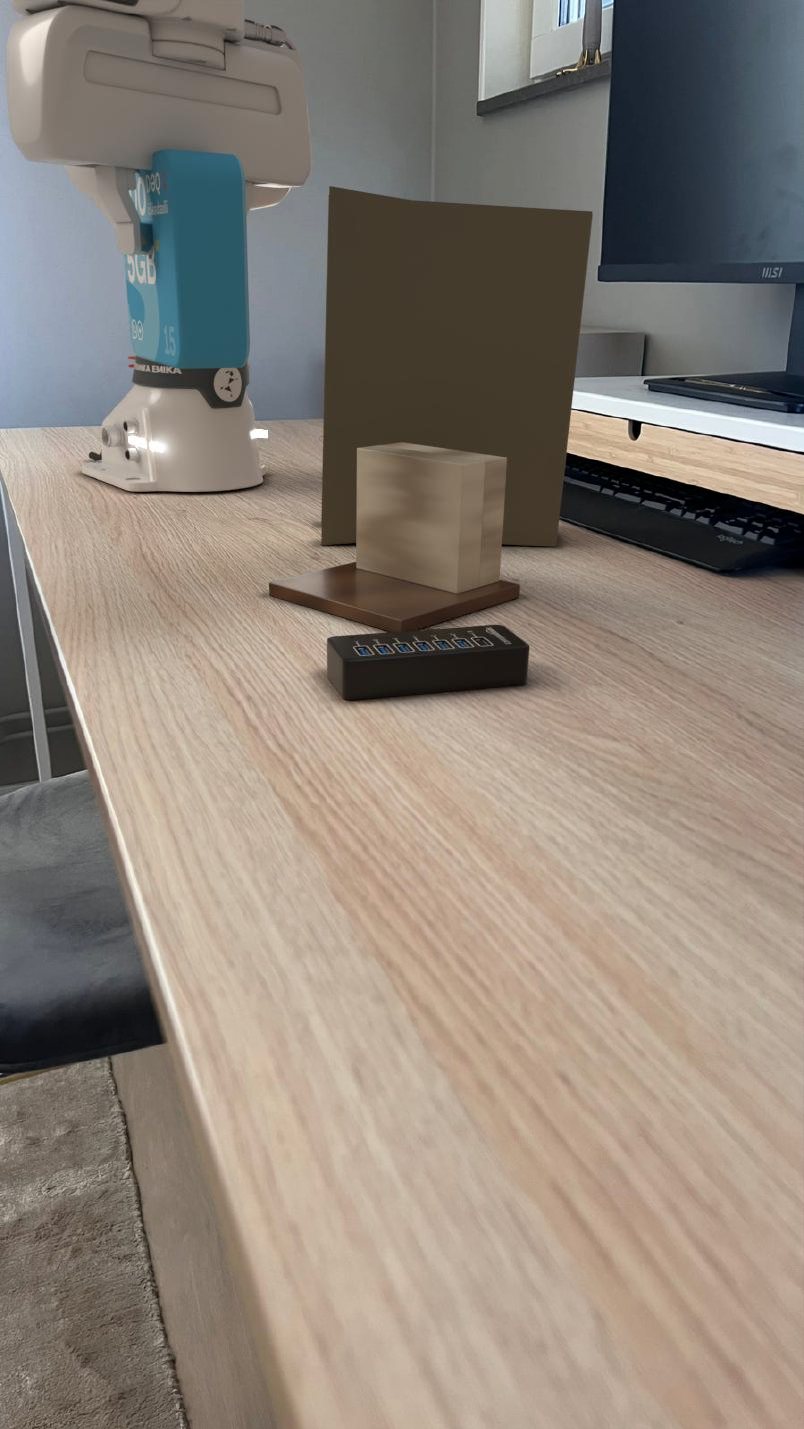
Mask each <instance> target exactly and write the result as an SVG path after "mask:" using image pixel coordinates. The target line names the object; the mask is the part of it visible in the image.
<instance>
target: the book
mask: <svg viewBox="0 0 804 1429" xmlns="http://www.w3.org/2000/svg"><path fill="white" fill-rule="evenodd" d="M327 201H328V204H327V205H328V206H327V244H326V245H327V248H326V249H327V250H326V252H327V253H326V289H325V290H326V293H325V294H326V295H325V336H324V337H325V338H324V341H325V342H324V377H323V378H324V381H323V384H324V385H323V424H322V425H323V427H322V465H321V466H322V471H321V511H320V512H321V516H320V517H321V518H320V527H321V532H320V535H321V536H320V538H321V539H320V540H321V541H320V545H321V546H328V545H329V546H330V545H343V544H344V545H345V544H356V528H357V448H361V447H369V446H377V445H385V444H393V443H401V442H404V443H411V444H417V445H424V446H431V447H438V448H445V449H451V450H458V451H465V452H472V453H479V454H486V455H492V456H499V457H506V458H507V466H506V483H505V500H504V516H503V533H502V545H513V546H532V547H535V546H536V547H555V548H556V547H557V541H558V534H559V526H560V516H561V508H562V498H563V489H564V480H565V470H566V463H567V462H566V461H567V454H568V444H569V437H570V436H569V434H570V425H571V415H572V407H573V396H574V391H575V381H576V371H577V363H578V353H579V346H580V344H579V343H580V336H581V335H580V334H581V325H582V316H583V306H584V300H585V299H584V298H585V290H586V288H585V287H586V279H587V271H588V262H589V253H590V244H591V234H592V226H593V217H594V216H593V215H594V214H593V213H594V212H593V211H591V210H577V209H576V210H575V209H559V208H558V209H557V208H541V207H528V206H527V207H526V206H525V207H523V206H509V205H508V206H507V205H493V204H492V205H491V204H479V203H478V204H477V203H462V202H448V201H447V202H445V201H429V200H413V199H407V198H400V197H396V196H389V195H383V194H378V193H374V192H373V193H372V192H367V191H361V190H355V189H349V188H344V187H337V186H333V185H329V186H328V200H327Z"/></svg>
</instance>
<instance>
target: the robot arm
mask: <svg viewBox="0 0 804 1429" xmlns="http://www.w3.org/2000/svg"><path fill="white" fill-rule="evenodd" d="M9 2H10V5H11V6H12V8H13V10H14V11H15V12H16V13H17V14H19V15H20V16H22V17H20V18H18V19H17V20H16V21H15V22H14V23H13V25H12V26H11V27H10V31H9V33H8V37H7V41H6V51H5V52H6V54H5V55H6V56H5V75H6V76H5V78H6V100H7V101H6V102H7V114H8V121H9V122H8V123H9V131H10V136H11V138H12V141H13V143H14V144H15V146H16V147H17V149H18V150H19V152H20V153H21V155H22V156H23V157H24V158H25V160H26V161H28V162H32V163H39V164H40V163H41V164H50V165H58V166H59V165H60V166H62V168H63V170H64V171H65V173H66V175H67V176H68V178H69V179H70V180H71V182H72V183H73V184H74V185H75V187H77V189H79V190H80V191H81V192H82V193H83V194H84V195H86V196H87V197H88V198H89V199H90V200H91V201H92V202H93V203H94V205H95V206H97V207H98V209H99V210H100V211H101V212H102V213H103V216H104V217H105V218H106V219H107V220H108V222H109V224H110V225H111V226H112V229H113V230H114V232H115V233H116V240H117V248H118V251H119V253H120V254H121V255H124V254H128V255H152V254H153V241H152V238H153V233H152V224H148V223H140V222H142V221H141V219H140V217H139V214H138V212H137V210H136V208H135V205H134V203H133V201H132V199H131V196H130V194H129V192H128V190H135V189H136V176H135V173H139V169H144V170H151V169H152V156H153V153H154V152H157V151H160V150H163V149H172V150H185V151H197V152H209V153H222V154H233V155H236V156H237V157H238V158H239V159H240V161H241V163H242V166H243V170H244V175H245V187H246V217H247V216H248V214H249V212H250V211H255V210H259V209H264V208H270V207H274V206H277V205H278V204H280V203H281V202H282V201H283V200H284V199H285V198H286V196H287V195H288V194H289V192H290V190H291V189H292V188H299V187H302V186H304V185H305V183H306V181H307V180H308V178H309V176H310V174H311V172H312V167H313V166H312V165H313V158H312V157H313V156H312V139H311V126H310V117H309V108H308V100H307V93H306V88H305V83H304V78H303V62H302V61H303V60H302V57H301V56H302V55H301V53H300V51H298V50H297V47H296V46H295V44H294V43H293V41H291V39H289V37H288V36H287V33H286V31H285V29H282V28H281V27H280V26H277V25H273V24H262V23H258V22H257V21H254V20H252V19H250V18H245V0H9ZM284 46H286V47H284ZM126 359H127V360H134V362H133V363H131V364H128V365H127V367H128V368H133V372H132V379H131V382H132V383H133V386H132V387H131V389H130V390H129V391H128V392H127V393H126V395H125V396H124V397H123V398H122V399H121V401H119V402H118V404H117V405H116V406H115V407H114V409H113V410H111V411H110V413H108V415H107V416H106V417H105V418H104V419H103V421H102V423H101V426H100V448H101V449H100V453H97V452H94V451H89V453H88V458H89V459H90V460H93V461H89V462H87V463H83V464H82V465H81V473H82V474H83V475H87V476H88V477H91V478H94V479H97V480H99V481H101V482H104V483H107V484H110V485H112V486H114V487H117V488H119V489H122V490H125V491H127V492H138V493H139V492H140V493H141V492H180V493H181V492H183V493H185V492H188V493H190V492H191V493H198V492H199V493H201V492H202V493H203V492H222V491H231V490H232V491H233V490H239V489H247V488H251V487H255V486H258V485H260V484H262V483H263V482H264V478H263V477H264V476H266V474H267V471H266V465H265V464H261V458H260V451H259V444H258V443H259V442H258V438H263V439H268V437H269V434H268V430H265V429H259V428H258V429H257V426H256V418H255V412H254V406H253V404H252V401H251V400H250V399H249V397H248V392H247V386H248V385H249V384H250V383H251V382H250V381H251V380H250V371H251V364H250V363H249V359H248V360H247V362H246V364H245V365H244V366H243V367H241V368H194V369H177V368H173V367H170V366H167V365H163V364H160V363H157V362H153V361H150V360H147V359H143V358H140V357H138V356H137V355H136V356H135V355H133V356H132V355H131V356H127V357H126Z"/></svg>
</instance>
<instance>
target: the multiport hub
mask: <svg viewBox="0 0 804 1429" xmlns="http://www.w3.org/2000/svg"><path fill="white" fill-rule="evenodd" d="M530 648H531V647H530V644H529V643H527V641H525V640H523V639H522V638H521V637H520V636H518V635H517V634H516V633H515V632H513V631H512V630H511V629H509V628H508V627H506V626H505V625H502V624H487V625H486V624H485V625H473V626H456V627H444V628H430V629H418V630H414V631H401V632H390V631H387V632H373V633H361V634H347V635H346V634H345V635H334V636H330V637H327V639H326V676H327V678H328V680H329V681H330V683H331V684H332V685H333V687H334V688H335V690H336V691H337V693H338V694H339V695H340V697H341V699H343V700H346V701H355V700H356V701H357V700H368V699H378V698H389V697H390V698H391V697H400V696H401V697H402V696H413V695H421V694H422V695H423V694H435V693H444V692H445V693H446V692H456V691H468V690H478V689H479V690H480V689H489V688H499V687H511V686H522V685H526V684H527V683H528V672H529V660H530V659H529V658H530Z"/></svg>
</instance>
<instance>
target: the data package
mask: <svg viewBox="0 0 804 1429" xmlns="http://www.w3.org/2000/svg"><path fill="white" fill-rule="evenodd" d="M135 176H136V189H135V190H128V192H129V194H130V196H131V199H132V201H133V203H134V205H135V208H136V210H137V212H138V214H139V217H140V219H141V221H142V222H140V223H148V224H152V233H153V238H152V241H153V254H152V255H128V254H123V256H124V257H123V258H124V273H125V286H126V299H127V300H126V301H127V313H128V314H127V315H128V328H129V338H130V343H131V347H132V350H133V353H134V354H135V355H136V356H138V357H140V358H143V359H147V360H150V361H153V362H157V363H160V364H163V365H167V366H170V367H173V368H177V369H194V368H241V367H243V366H244V365H245V364H246V362H247V360H248V361H249V358H250V357H249V356H250V350H251V349H250V348H251V332H250V331H251V328H250V298H249V266H248V264H249V263H248V262H249V260H248V228H247V216H246V187H245V175H244V170H243V166H242V163H241V161H240V159H239V158H238V157H237V156H236V155H233V154H222V153H209V152H197V151H185V150H172V149H163V150H160V151H157V152H154V153H153V156H152V169H151V170H144V169H139V173H135Z"/></svg>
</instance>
